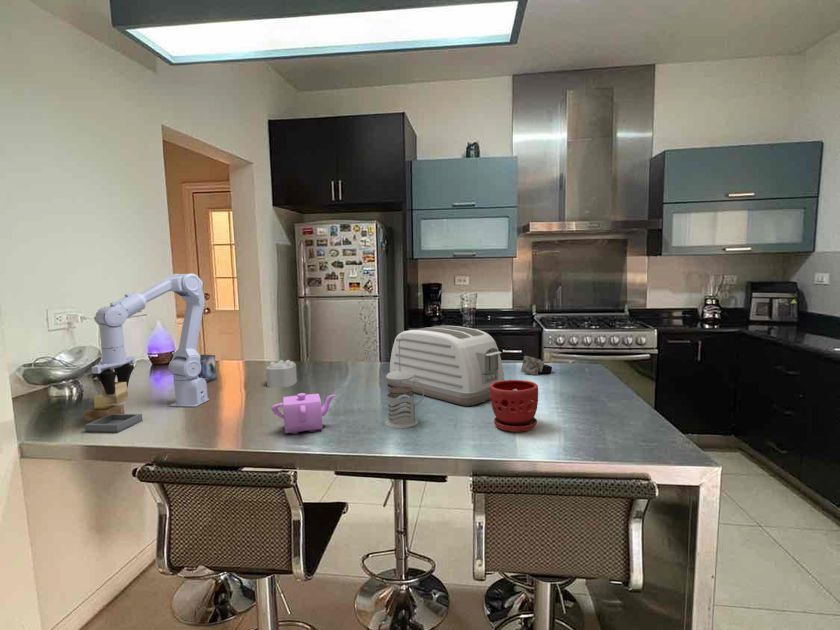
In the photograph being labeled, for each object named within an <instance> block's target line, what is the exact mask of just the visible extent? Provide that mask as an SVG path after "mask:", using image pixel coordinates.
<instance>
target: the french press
mask: <svg viewBox="0 0 840 630" xmlns="http://www.w3.org/2000/svg"><path fill="white" fill-rule="evenodd" d="M396 337H397V336H396ZM396 337H395V338H396ZM396 341H399V366H400V341H402V338H401V337H397V338H396ZM388 373H389V372H388ZM413 377H414V374H412V373H411V372H408V371H406V370H396V371H393V372H391V373H389V374H388V375H387V374H386V376H385V378H386V380H387V379H389V380H393V381H400V386H396V387H393V386H391V387H390V388H389V389H387V392H388V393H387V397H386V398H387V419H386V420H385V421H384V425H385V426H387V427H389V428H393V429H394V428H395V429H405V428H406V429H408V428H411V427H414V426H416V425H418V423H419V420H418V418H417V417H416V407H417V406H418V405H420V404H421V403H423V400H424V397H425V395H424V388H423V386H422V384H421V383H420V382H419V381H418V382H419V383H420V384H421V385H420V384H419V383H418V382H416V381H417V380H413V385H414V382H416V383H418V384H419V385H420V386H421V388H422V390H423V395H422V397H421V399H420V400H419V401H417V402H415V392H412V391H413V389H412V388H411V387H402V386H401V381H404V380H409V379H412V378H413ZM405 395H406V396H405ZM407 396H409V397H407Z"/></svg>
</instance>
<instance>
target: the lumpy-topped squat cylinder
mask: <svg viewBox="0 0 840 630" xmlns="http://www.w3.org/2000/svg"><path fill="white" fill-rule="evenodd" d="M265 372H266V387H268V388H288V387H292V386H294V385H296V384H297V382H298V379H297V378H298V377H297V376H298V375H297V364H296V363H295V361H291V360H290V359H287V360H283V359H281V360H278V361H277V362H275V361H270V363H269V364H268V366H266V368H265Z"/></svg>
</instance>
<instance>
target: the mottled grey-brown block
mask: <svg viewBox="0 0 840 630" xmlns="http://www.w3.org/2000/svg"><path fill="white" fill-rule="evenodd" d="M552 369H553V366H551V365H547V364H545V363H544V362H543V361H542V360H541V359H539V358H536V357H534V356H533V357H532V356H528V355H524V357H523V361H522V364H521V369H520V372H521V373H524V374H527V375H532V376H538V374H539V373H546V374H551V373H552Z"/></svg>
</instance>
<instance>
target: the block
mask: <svg viewBox="0 0 840 630" xmlns="http://www.w3.org/2000/svg"><path fill="white" fill-rule="evenodd" d="M100 388H101V394H102V397H103V404H121V403H124V402H125V401H126V402H127V401H128V400H129V393H128V388H127V383H126V382H118V381H115V393H114V394H112V395H111V394H106V392H105V389H104V387H103V385H102V384H101V386H100Z"/></svg>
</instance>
